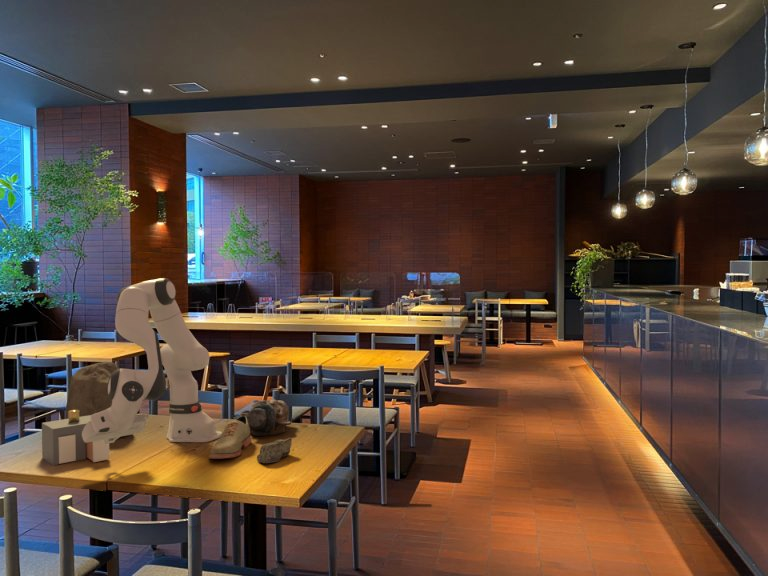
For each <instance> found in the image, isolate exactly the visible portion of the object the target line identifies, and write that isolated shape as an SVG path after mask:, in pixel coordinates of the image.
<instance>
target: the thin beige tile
mask: <svg viewBox="0 0 768 576" xmlns="http://www.w3.org/2000/svg"><path fill="white" fill-rule="evenodd" d="M70 462H77V461H76V443H75V434H73V435H72V434H70V435H64V436H59V437H58V465H59V464H60V465H61V464H65V463H70Z"/></svg>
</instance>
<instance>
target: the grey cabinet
mask: <svg viewBox="0 0 768 576" xmlns="http://www.w3.org/2000/svg"><path fill="white" fill-rule="evenodd" d="M90 417H91V415H88V416H82V417H79V422H75V423H69V419H65V418H64V419H59V420H58V419H57V420H52V421H46V422H41V445H42V447H41V448H42V449H41V451H42V454H41V455H42V456H41V457H42V459H43V460H45V461H46V462H48V463H49V464H50V463H51V466H53V465H54V466H58V465H59V462H58V437H59V436H64V435H70V434H72V435H73V434H75V443H76V461H75V462H77V461H81V460H82V461H83V460H86V459H87V457H86V442H84V441H83V438H82V431H83V429H84V427H85V425H86V424H87V423H88V422H89V421H90V420H91V418H90Z"/></svg>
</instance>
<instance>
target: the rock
mask: <svg viewBox="0 0 768 576" xmlns="http://www.w3.org/2000/svg"><path fill="white" fill-rule="evenodd" d="M292 443H293V442H292V437H287V439H282V438H281V439H275V440H274V441H272V442H269V443H263V444H262V445H261V446H260V448H259V454H258V455H257V454H256V460H257V462H258V463H260V464H261V463H262V464H272V463H278V462H280V460H281V458H284V457H287V456H288V455H290V452H291V448H292Z"/></svg>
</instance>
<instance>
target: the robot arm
mask: <svg viewBox="0 0 768 576" xmlns="http://www.w3.org/2000/svg"><path fill="white" fill-rule="evenodd" d="M176 296H177V290H176V286H175V284H174V283H173V282H172V281H171V280H170V279H169V278H165V277H162V278H161V277H160V278H156V279H150V280H144V281H141V282H139V283H135V284H132V285H127V286H124V287H123V288H121V289H120V290H119V291H118V293H117V296H116V301H117V305H116V309H115V317H114V318H115V321H114V322H115V324H114V325H115V330H116V331H117V333H118V334H119V335H120V337H122V338H124V339H125V340H127V341H129V342H131V343H133V344H135V345H137V346H139V347H140V348H142V349H143V350H144V351H145V353H146V358H147V359H146V360H147V366H148V370H140V369H139V370H138V369H133V368H131V369H130V368H121V367H120V368H118V369H117V370H115V371H114V372H113V373H112V374H111V376H110V379H109V381H108V384H107V395H108V397H109V399H110V400H111V401H112V406H111V407H110V408H108V409H106V410H104V411H101V412H98V413H95V414H93V415H91V417H90V418H91V420H90V421H89V422H88V423H87V424H86V425H85V427H84V429H83V431H82V438H83V441H84V442H86V443H88V442H93V441H99V440H104V439H105V440H104V441H105V444H108V443H109V444H114V443H115V442H116V440H118V439H119V438H120V437H125V436H130V435H131V436H132V435H135V434H136V435H137V434H141V433H142V432H144V430H145V427H146V423H147V422H146V421H148V419H149V414H146V413H138V412H139V410H140V408H141V407H142V403H143V401H144V400H146V401H151V402H154V401H157V400H159V399H160V398H161V397H162V396H164V394H165V393H166V387H167V380H168V385H169V401H170V402H169V403H168V412H169V423H168V429H167V430H168V431H167V434H166V436H165V438H166V439H167V440H168V441H169V443H171V442H172V443H209V442H211V441H214V440H217V439H219V438H220V437H221V435H222V433H223V431H220V430H217V426H216V425H217V424H216V422H215V420H214V419H213V418H212V417H210V416H209V414H207V413H205V412H204V411H203V408H202V407H204V403H200V401H199V395H198V394H199V384H198V381H197V380H196V379H195V377H194V376H193V374H192V372H194V371H198V370H203V369H204V368H206V367H207V366H208V364H209V361H210V352H209V351H208V350H207V348H206V347H204V346H203V345H202V344H201V343H200V342H199V341H198V340H197V339H196V338H195V336H194V335H193V333H192V332H191V331H190V329H189V327H188V325H187V324H186V321H185V319H184V316H183V314H182V311H181V310H180V307H179V305H178V303H177V300H176ZM149 314H150V316H151V319H152V321H153V324H154V325H155V329H156V330H157V331H155V330H154V329H153V326H151V324H150V320H149ZM158 335H159V336H158ZM159 337H160V339H161V340H163V341H164V342H165V344H163V346H160V340H159ZM164 370H165V372H166V375H167V380H166V376H165V373H164ZM137 413H138V414H137Z"/></svg>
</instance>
